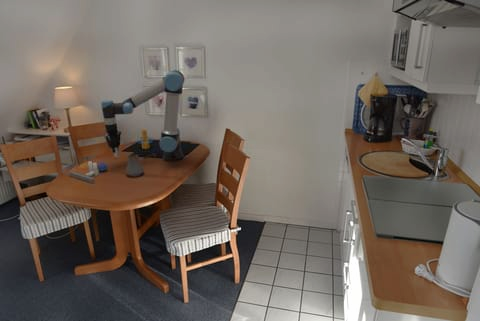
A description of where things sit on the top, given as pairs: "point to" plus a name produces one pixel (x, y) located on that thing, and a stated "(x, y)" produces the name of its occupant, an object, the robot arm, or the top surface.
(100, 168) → the ball
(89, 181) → the grey long bar
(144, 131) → the yellow tall rounded piece
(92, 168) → the back right pin
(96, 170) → the back left pin
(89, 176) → the front pin
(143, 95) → the robot arm
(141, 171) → the coffee pot
